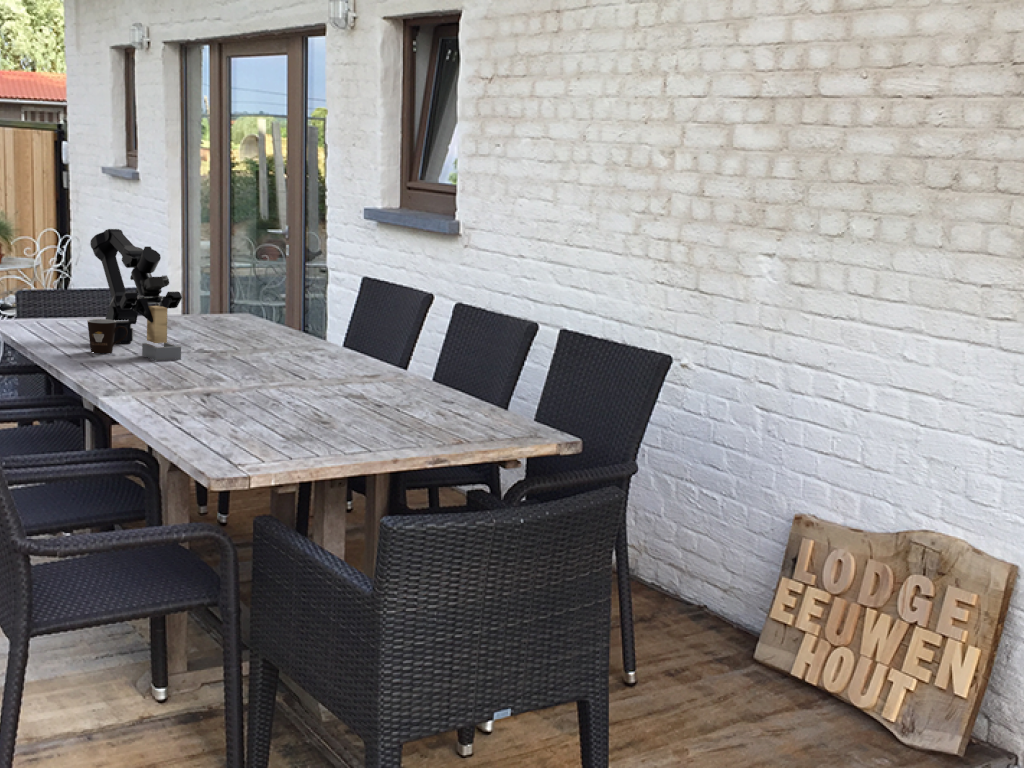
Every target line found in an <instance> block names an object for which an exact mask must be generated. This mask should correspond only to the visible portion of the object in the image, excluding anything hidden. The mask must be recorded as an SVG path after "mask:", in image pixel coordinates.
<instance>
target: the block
mask: <svg viewBox="0 0 1024 768" xmlns="http://www.w3.org/2000/svg"><path fill="white" fill-rule="evenodd" d="M148 307H149V309H150V312H151V314H152V317H153V322H152V323H151V322H150V321H149V320H148V319H146V341H147V342H151V343H153V344H164V343H167V342H168V309H167V308H165V307H162V306H159V305H148Z"/></svg>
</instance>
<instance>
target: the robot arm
mask: <svg viewBox="0 0 1024 768" xmlns="http://www.w3.org/2000/svg"><path fill="white" fill-rule="evenodd" d="M89 244H90V248H91V249H92V252H93V254H94V256H95V258H96V259H98V260H99V261H101V263H102V268H103V271H104V274H105V278H106V281H107V285H108V289H109V294H110V296H111V301H110V303H109V309H108V312H107V313H106V316H105V319H108V320H114V321H116V327H118V326H124V327H125V328H127V331H128V334H127V336H126V337H125V338H124V339H123V340H121V341H119V342H118V343H117V344H131V343H132V342H133V340H134V328H133V327H132V325H136V324H137V320H138V316H139V314H140V316H142V317H144V319H146V320H147V319H148V320H149V321H150V322H151V323H152V322H153V317H152V314H151V312H150V309H149V307H148V306H149V304H157V305H158V306H162V307H165V308H167V310H168V309H177V308H178V306H179V304H180V302H181V301H182V299H183V296H182V293H181V291H177V290H176V291H167V292H166V294H165V296H163V295H160V294H162V292H163V291H162V289H163V288H165V287H168V286H169V285H170V280H169V277H168V275H161V276H152V273H154V272H155V271H156V269H157V267H158V264H159V262H160V260H161V254H160V253H159V252H158V251H157V250H155V249H152V246H144V247H143V248H142V247H138V246H135V245H134V244H133V243H132V242H131V241H130V240H129V239H128V238H127V236H126V235H125V234H124V233H123V230H122V229H119V228H108V229H105V230H104V231H102V232H99V233H96V234H95V235H94V236H92V238H91V239H90V243H89ZM118 253H119V254H120V255H121V257H122V258H121V262H122V264H123V266H124V267H125V268H126V269H132V270H131V273H130V274H131V275H130V281H133V282H134V286H135V287H136V289H135V292H133V291H131V292H129V291H128V292H127V291H126V287H125V285H124V281H123V277H122V274H121V273H122V272H121V271H120V267H119V263H118V260H117V254H118ZM125 335H126V331H125V329H123V328H118V329H117V330H116V332H115V335H114V342H116V341H118V340H120V339H121V338H123V337H124V336H125Z"/></svg>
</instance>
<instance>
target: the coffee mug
mask: <svg viewBox="0 0 1024 768" xmlns="http://www.w3.org/2000/svg"><path fill="white" fill-rule="evenodd" d="M118 328H123V329H125V331H126V335H125V336H124V337H123V338H121V339H120V340H118V341H116V342H114V335H115V332H116V330H117V329H118ZM87 329H88V331H87V332H88V338H89V347H90V348H89V349H90V353H91V352H94V353H110V354H113V349H114V348H113V347H114V346H115V345H116V344H119V343H118V342H119V341H121V340H123V339H124V338H125V337H126V336H127V334H128V331H127V328H125V327H124V326H118V327H116V321H115V320H108V319H106V318H96V319H92V318H91V319H88V320H87ZM94 353H93V354H94Z"/></svg>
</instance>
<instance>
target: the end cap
mask: <svg viewBox="0 0 1024 768" xmlns="http://www.w3.org/2000/svg"><path fill="white" fill-rule="evenodd" d="M141 344H142V345H141V349H142V350H141V356H142V357H144V356H145V357H144V358H147V357H148V358H147V359H149V358H150V359H149V360H152V361H155V362H159V361H160V360H162V361H173V360H174V361H175V360H176V361H177V359H179V360H182V346H180V345H176V344H174V343H172V342H169V341H167V343H163V346H162V347H161V346H160V347H159V346H155V345H152V344H150V343H147V342H142V343H141Z"/></svg>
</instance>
